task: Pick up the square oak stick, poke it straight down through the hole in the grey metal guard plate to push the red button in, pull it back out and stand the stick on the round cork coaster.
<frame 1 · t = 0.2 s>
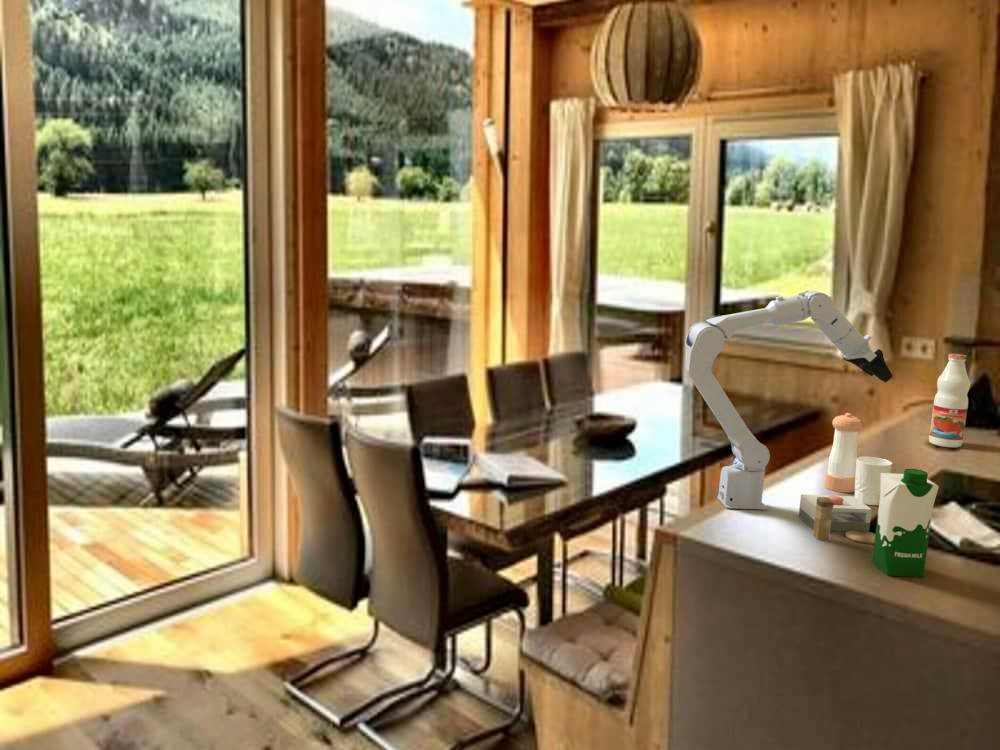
hand: (881, 376, 204), 31 cm above the countertop, tool tilted 50°, fingers open, 7 cm apart
pepper shaker: (839, 488, 226), on the countertop
button: (835, 503, 198), point 5 cm above the countertop, slide at 0.0 cm
stick: (820, 538, 189), on the countertop
white cup: (869, 502, 217), on the countertop
fruit juice: (944, 444, 280), on the countertop
milk carton: (896, 570, 174), on the countertop
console: (833, 523, 198), on the countertop
coaster: (863, 537, 190), on the countertop
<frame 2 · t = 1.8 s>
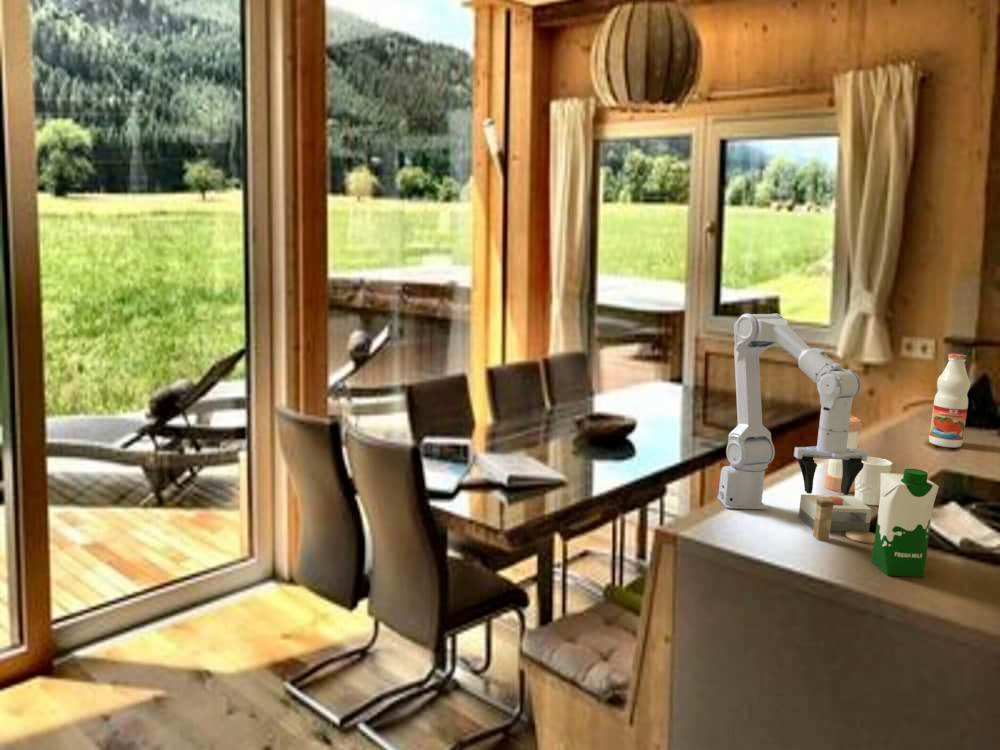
hand: (826, 492, 187), 10 cm above the countertop, tool pointing down, fingers open, 7 cm apart
nothing on the countertop moved.
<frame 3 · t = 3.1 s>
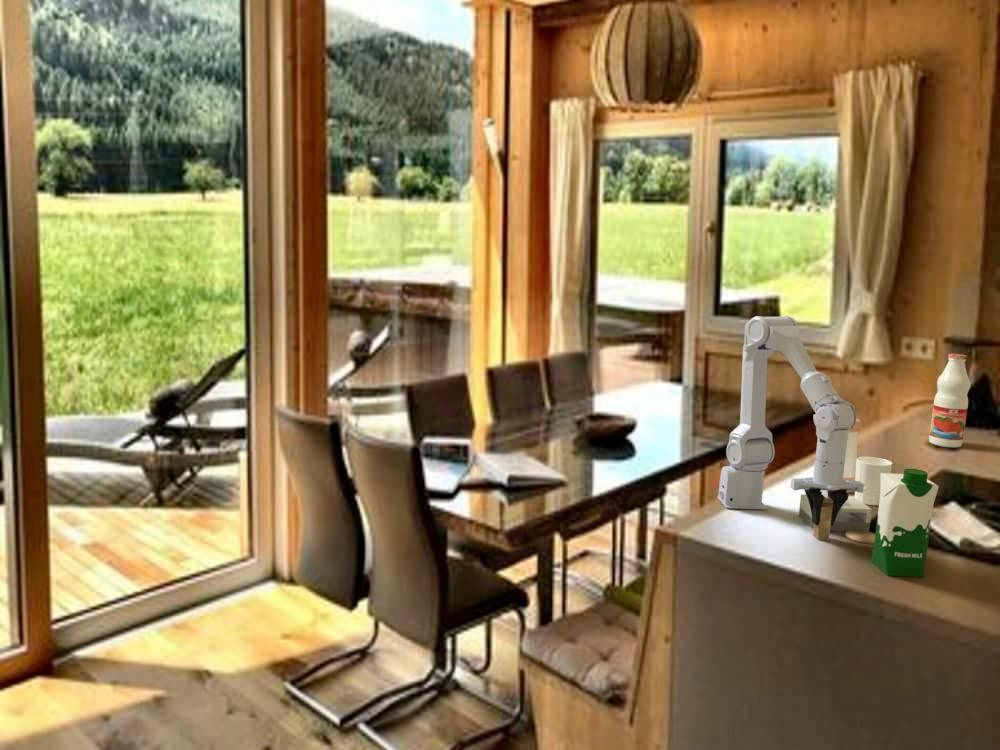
hand: (822, 523, 188), 3 cm above the countertop, tool pointing down, fingers closed on stick, 2 cm apart
stick: (820, 538, 189), on the countertop, touching gripper
everything else where it was.
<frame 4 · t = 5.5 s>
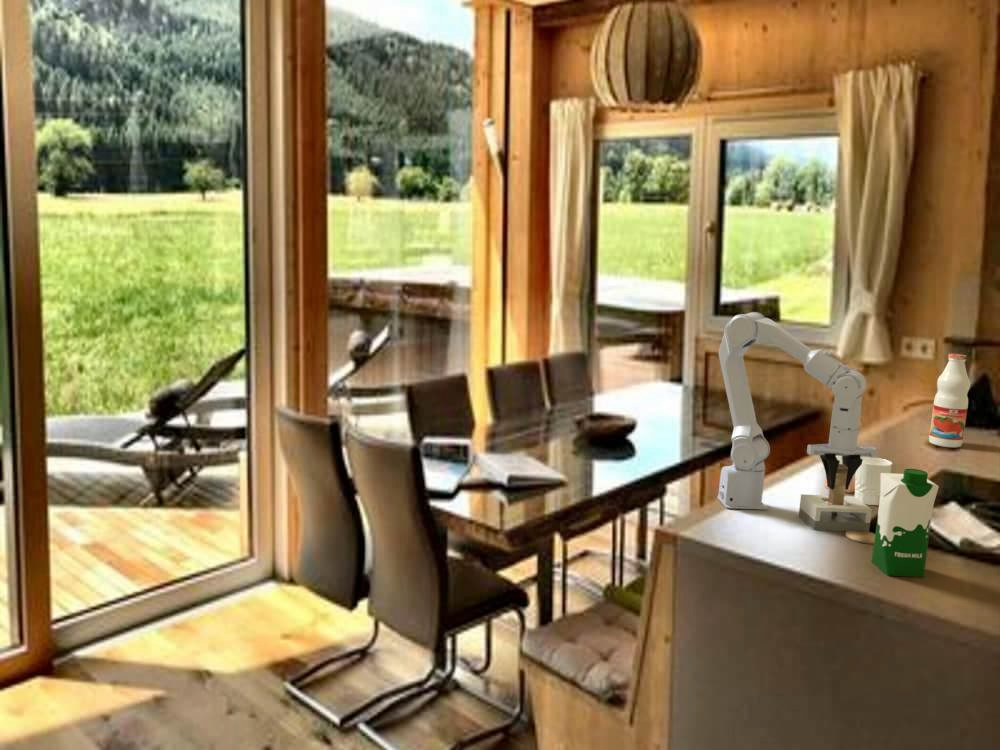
hand: (837, 487, 197), 8 cm above the countertop, tool pointing down, fingers closed on stick, 2 cm apart
button: (834, 508, 198), point 3 cm above the countertop, slide at 1.1 cm, touching stick
stick: (835, 503, 198), point 5 cm above the countertop, touching button, gripper
everything else where it was.
when the fingers open (4 cm above the countertop, at t = 8.4 s): stick stays where it is, resting on coaster.
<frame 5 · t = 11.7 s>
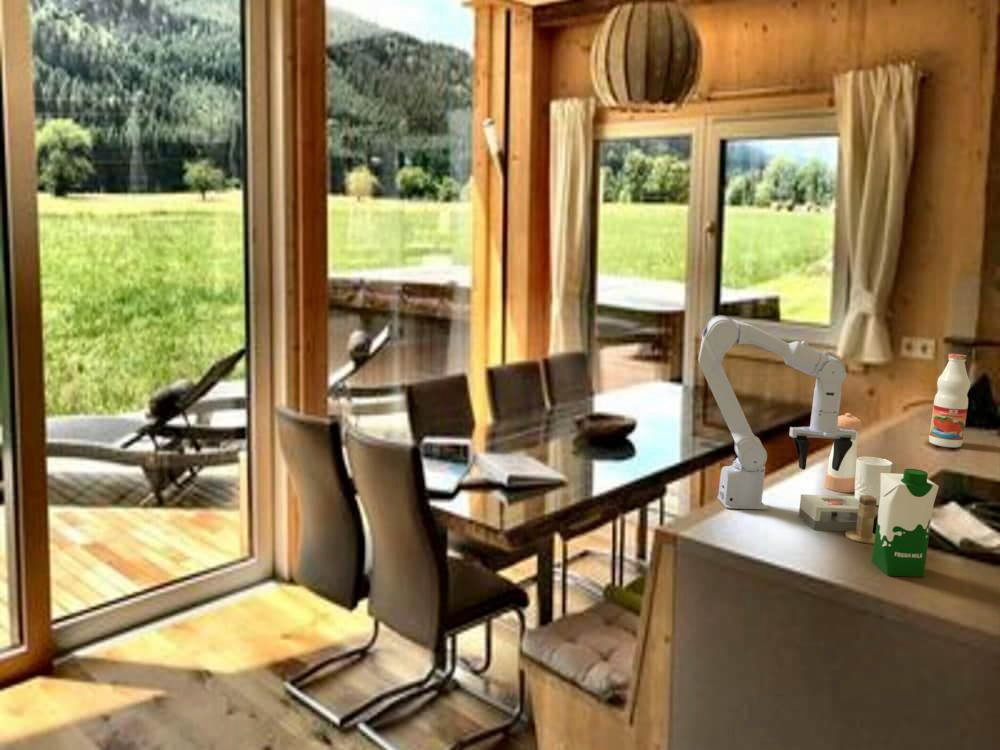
hand: (818, 469, 205), 10 cm above the countertop, tool pointing down, fingers open, 7 cm apart
button: (834, 508, 198), point 3 cm above the countertop, slide at 1.1 cm
stick: (863, 535, 190), resting on coaster
everything else where it was.
at the end: button slide at 1.1 cm; the gripper is holding nothing; stick 0.0 cm from the coaster (horizontally) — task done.
